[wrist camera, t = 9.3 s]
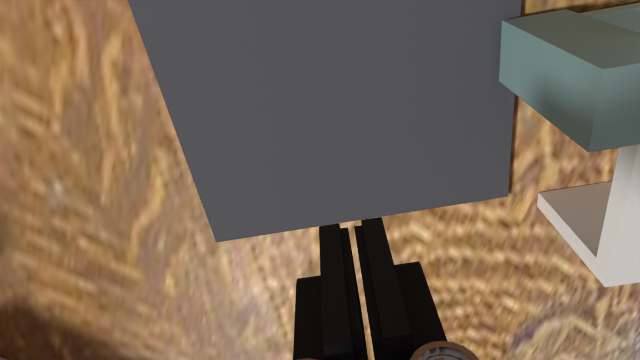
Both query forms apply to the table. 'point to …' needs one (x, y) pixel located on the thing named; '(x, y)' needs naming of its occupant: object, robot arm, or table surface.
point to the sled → (578, 72)
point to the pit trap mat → (332, 106)
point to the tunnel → (602, 220)
